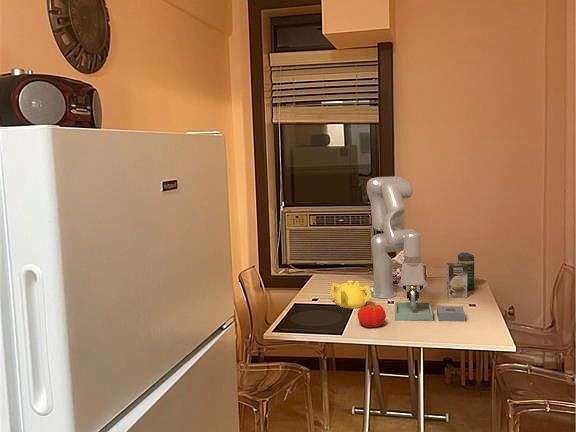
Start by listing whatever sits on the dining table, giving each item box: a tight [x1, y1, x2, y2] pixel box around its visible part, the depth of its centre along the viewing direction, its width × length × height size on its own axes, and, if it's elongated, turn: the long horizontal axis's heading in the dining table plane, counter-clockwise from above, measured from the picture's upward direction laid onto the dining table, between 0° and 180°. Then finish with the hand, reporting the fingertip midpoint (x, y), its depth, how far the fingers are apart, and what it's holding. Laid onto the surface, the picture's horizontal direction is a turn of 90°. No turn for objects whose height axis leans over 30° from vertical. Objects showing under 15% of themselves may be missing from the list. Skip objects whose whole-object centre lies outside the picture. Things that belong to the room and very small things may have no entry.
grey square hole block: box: [436, 305, 466, 322], centre depth 265 cm, size 11×11×4 cm
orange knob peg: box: [409, 286, 417, 309], centre depth 271 cm, size 4×4×10 cm
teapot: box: [329, 279, 373, 309], centre depth 292 cm, size 17×17×12 cm
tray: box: [394, 301, 434, 322], centre depth 272 cm, size 16×19×3 cm
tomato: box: [357, 303, 387, 328], centre depth 258 cm, size 13×12×8 cm
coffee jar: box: [457, 252, 475, 291], centre depth 314 cm, size 10×8×19 cm
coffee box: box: [446, 262, 468, 299], centre depth 299 cm, size 9×6×16 cm
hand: (413, 299), depth 271 cm, fingers closed on orange knob peg, 2 cm apart
